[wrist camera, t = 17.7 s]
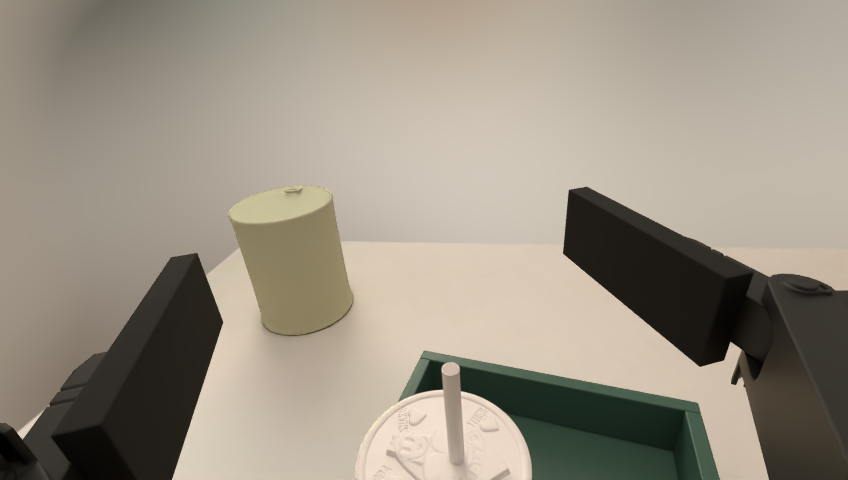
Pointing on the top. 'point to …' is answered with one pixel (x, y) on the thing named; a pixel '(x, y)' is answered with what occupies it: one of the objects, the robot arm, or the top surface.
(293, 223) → the can
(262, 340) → the top surface
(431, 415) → the smoothie
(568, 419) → the bin
